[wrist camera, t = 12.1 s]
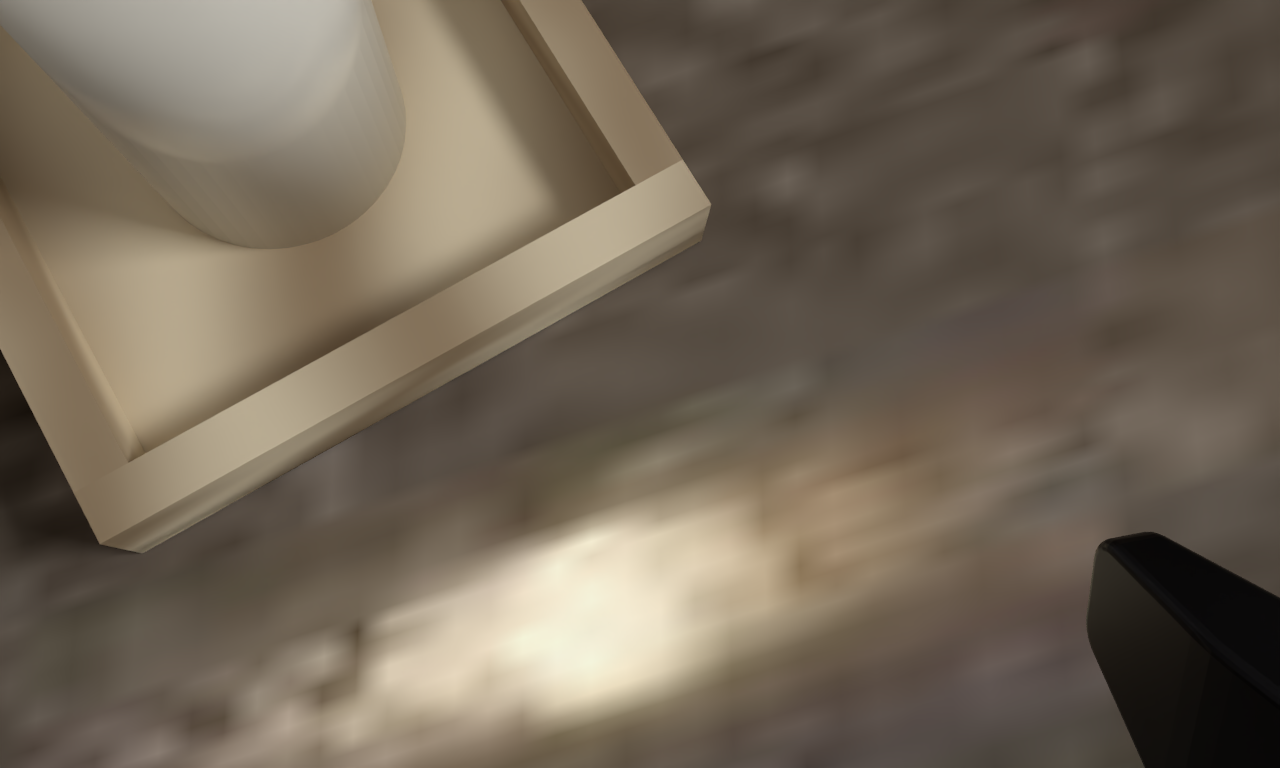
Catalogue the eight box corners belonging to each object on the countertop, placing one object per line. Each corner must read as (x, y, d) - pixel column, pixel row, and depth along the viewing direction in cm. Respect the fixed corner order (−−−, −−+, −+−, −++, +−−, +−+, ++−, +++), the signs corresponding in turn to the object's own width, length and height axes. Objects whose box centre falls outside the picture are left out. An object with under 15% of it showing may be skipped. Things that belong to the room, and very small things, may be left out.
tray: (142, 553, 22) (99, 544, 20) (-129, 29, 24) (-190, -25, 22) (700, 240, 24) (711, 204, 22) (407, -225, 26) (392, -297, 24)
